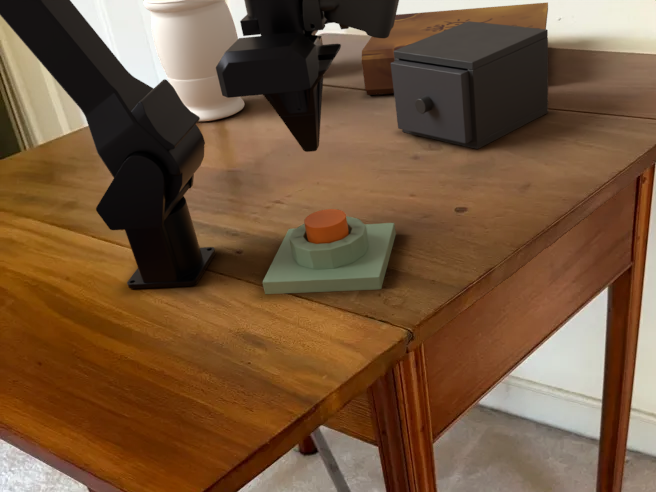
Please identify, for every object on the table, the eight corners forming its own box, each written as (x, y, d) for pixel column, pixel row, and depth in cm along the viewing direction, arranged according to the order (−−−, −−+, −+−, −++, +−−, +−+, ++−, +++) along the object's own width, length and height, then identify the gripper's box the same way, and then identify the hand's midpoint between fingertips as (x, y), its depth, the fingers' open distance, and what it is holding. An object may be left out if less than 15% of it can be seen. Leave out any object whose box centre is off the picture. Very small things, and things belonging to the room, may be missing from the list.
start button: (345, 245, 69) (341, 226, 68) (303, 247, 70) (300, 228, 69) (352, 226, 72) (349, 207, 71) (312, 228, 73) (308, 210, 72)
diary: (366, 98, 108) (360, 52, 105) (391, 57, 122) (386, 15, 119) (544, 86, 103) (543, 37, 100) (548, 44, 118) (548, 0, 114)
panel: (381, 289, 68) (376, 257, 66) (265, 294, 69) (257, 262, 68) (396, 234, 75) (392, 203, 74) (291, 240, 77) (284, 210, 75)
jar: (264, 98, 114) (239, -22, 105) (233, 124, 106) (203, -2, 97) (196, 100, 117) (166, -16, 108) (161, 126, 109) (126, 4, 100)
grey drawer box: (477, 149, 89) (472, 62, 84) (402, 132, 97) (393, 50, 91) (548, 112, 96) (547, 29, 90) (472, 98, 103) (468, 20, 97)
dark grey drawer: (458, 147, 88) (453, 77, 84) (390, 132, 94) (382, 66, 90) (531, 110, 94) (530, 43, 90) (463, 97, 101) (459, 34, 96)
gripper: (365, -61, 48) (396, 192, 58) (402, -104, 63) (421, 103, 72) (186, -40, 50) (244, 201, 60) (262, -87, 64) (299, 113, 74)
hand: (311, 149), depth 66 cm, fingers closed
